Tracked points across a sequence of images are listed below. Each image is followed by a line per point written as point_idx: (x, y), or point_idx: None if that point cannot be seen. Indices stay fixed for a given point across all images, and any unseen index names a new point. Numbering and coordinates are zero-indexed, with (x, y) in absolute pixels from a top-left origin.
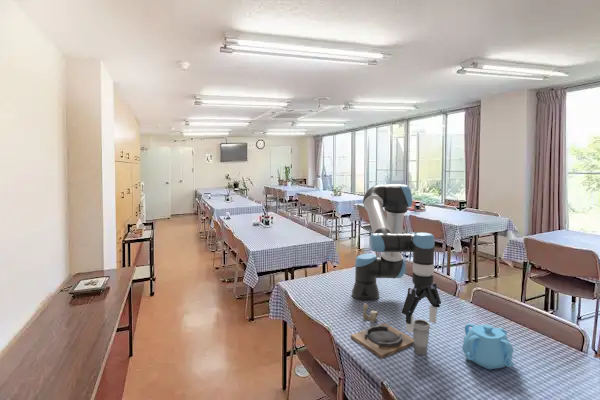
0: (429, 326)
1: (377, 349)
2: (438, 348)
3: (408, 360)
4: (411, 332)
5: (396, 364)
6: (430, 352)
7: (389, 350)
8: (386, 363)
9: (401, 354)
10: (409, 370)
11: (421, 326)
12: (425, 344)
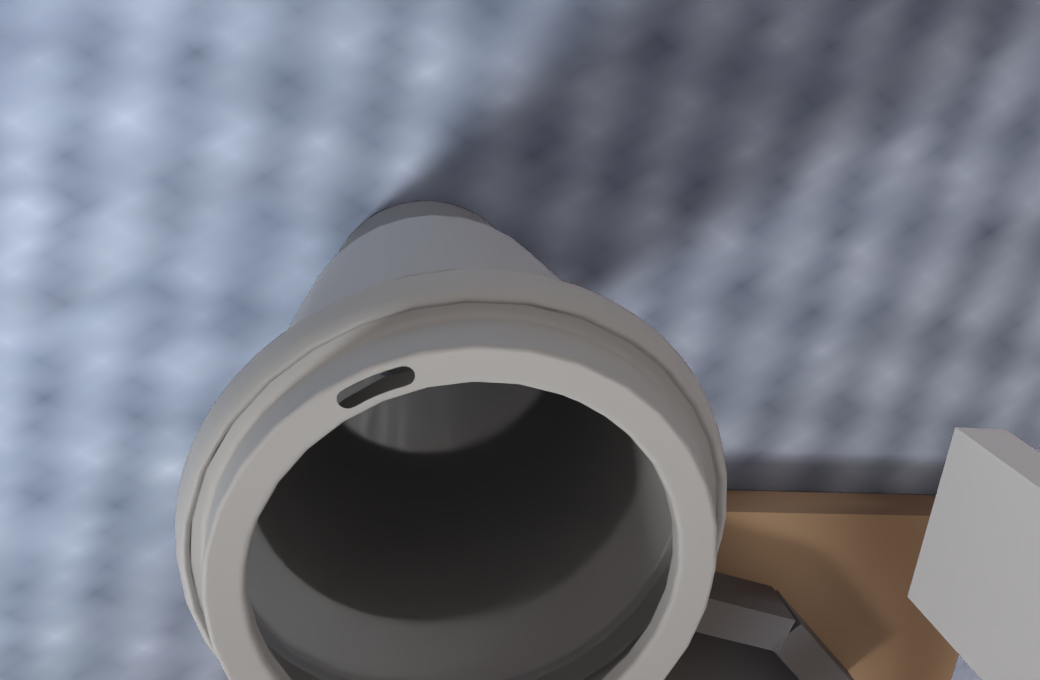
0: (340, 342)
1: (918, 632)
2: (59, 175)
3: (770, 262)
4: (1007, 441)
5: (969, 300)
6: (301, 188)
7: (829, 537)
8: (1033, 389)
9: None
10: (978, 103)
11: (679, 437)
12: (480, 226)
